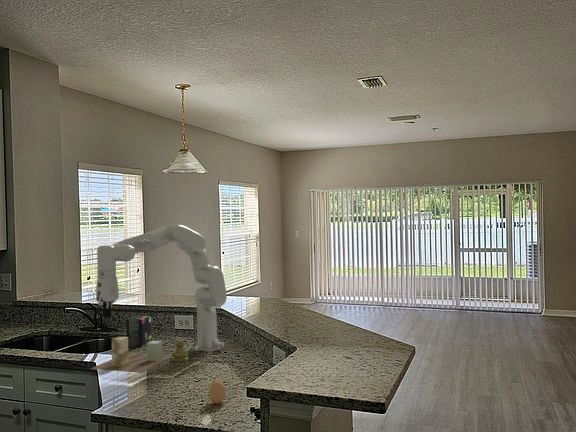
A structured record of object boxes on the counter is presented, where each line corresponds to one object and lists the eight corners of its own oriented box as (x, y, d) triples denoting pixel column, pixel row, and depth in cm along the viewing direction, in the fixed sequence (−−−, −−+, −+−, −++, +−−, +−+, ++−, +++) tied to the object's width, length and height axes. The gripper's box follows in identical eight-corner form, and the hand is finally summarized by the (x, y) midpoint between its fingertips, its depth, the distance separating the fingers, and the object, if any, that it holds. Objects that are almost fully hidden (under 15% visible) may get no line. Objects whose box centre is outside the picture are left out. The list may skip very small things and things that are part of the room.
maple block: (128, 364, 238) (128, 337, 238) (121, 367, 233) (121, 339, 233) (118, 363, 239) (118, 336, 239) (112, 366, 235) (111, 339, 235)
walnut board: (175, 358, 251) (175, 356, 251) (142, 375, 224) (142, 372, 224) (127, 355, 258) (127, 352, 258) (89, 371, 231) (89, 368, 231)
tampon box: (142, 348, 273) (142, 319, 273) (126, 347, 275) (125, 319, 275) (152, 343, 284) (151, 315, 284) (136, 342, 285) (135, 315, 285)
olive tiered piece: (184, 365, 239) (184, 343, 239) (169, 364, 240) (169, 342, 240) (191, 361, 246) (190, 339, 246) (176, 360, 247) (175, 338, 247)
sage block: (162, 358, 246) (162, 341, 246) (156, 361, 242) (156, 343, 242) (152, 357, 248) (152, 340, 248) (147, 360, 243) (146, 343, 243)
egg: (226, 400, 192) (226, 377, 192) (225, 405, 186) (224, 383, 186) (209, 400, 191) (209, 378, 192) (207, 406, 185) (207, 383, 186)
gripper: (103, 276, 220) (103, 320, 220) (124, 272, 234) (125, 314, 234) (87, 275, 222) (88, 320, 222) (109, 272, 236) (110, 314, 236)
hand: (107, 317), depth 228 cm, fingers closed
